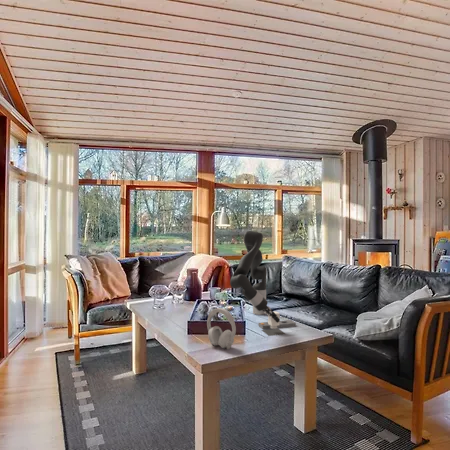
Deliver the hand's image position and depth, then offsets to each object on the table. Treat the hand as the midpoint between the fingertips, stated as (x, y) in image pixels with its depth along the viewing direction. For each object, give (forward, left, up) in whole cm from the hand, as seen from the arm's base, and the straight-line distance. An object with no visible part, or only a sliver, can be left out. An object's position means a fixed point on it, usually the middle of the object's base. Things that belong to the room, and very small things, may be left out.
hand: (276, 319), depth 213 cm
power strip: (-11, +5, -8) cm, 14 cm away
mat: (0, -2, -8) cm, 8 cm away
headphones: (+13, -38, -8) cm, 41 cm away
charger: (0, -2, -5) cm, 5 cm away
